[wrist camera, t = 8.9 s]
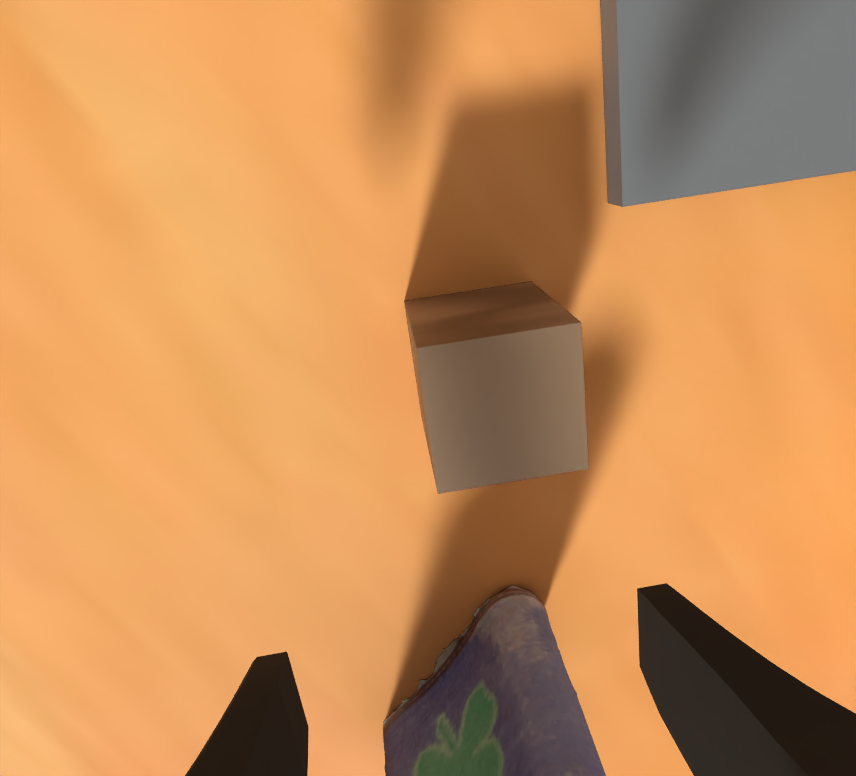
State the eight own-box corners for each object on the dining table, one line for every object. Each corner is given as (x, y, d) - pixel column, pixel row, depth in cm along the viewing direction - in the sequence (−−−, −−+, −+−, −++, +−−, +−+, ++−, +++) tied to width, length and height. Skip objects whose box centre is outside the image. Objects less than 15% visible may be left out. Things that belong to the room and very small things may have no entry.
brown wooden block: (531, 280, 20) (581, 322, 16) (540, 398, 22) (588, 468, 17) (404, 300, 20) (416, 348, 15) (421, 417, 22) (438, 493, 17)
